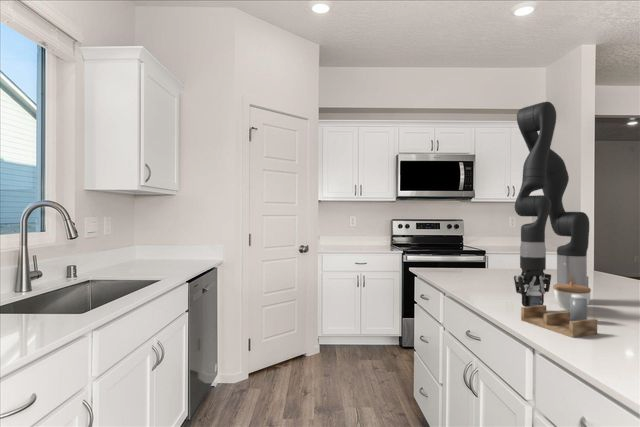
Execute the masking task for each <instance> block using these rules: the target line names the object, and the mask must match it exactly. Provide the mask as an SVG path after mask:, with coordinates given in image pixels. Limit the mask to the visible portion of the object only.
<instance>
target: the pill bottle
mask: <svg viewBox="0 0 640 427" xmlns="http://www.w3.org/2000/svg"><path fill="white" fill-rule="evenodd" d="M526 286H529V285H526ZM526 289H527V288H526ZM526 289H525V290H526ZM539 290H540V286H539V285H535V286H533V288H532V289H531V290H530V293H529V306H538V305H542V293H541V292H539ZM523 307H525V306H523Z"/></svg>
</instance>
